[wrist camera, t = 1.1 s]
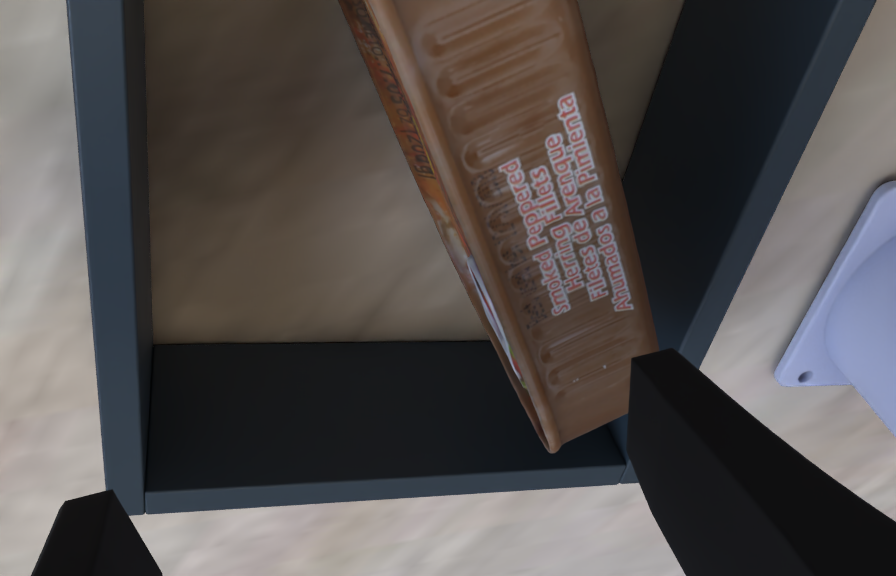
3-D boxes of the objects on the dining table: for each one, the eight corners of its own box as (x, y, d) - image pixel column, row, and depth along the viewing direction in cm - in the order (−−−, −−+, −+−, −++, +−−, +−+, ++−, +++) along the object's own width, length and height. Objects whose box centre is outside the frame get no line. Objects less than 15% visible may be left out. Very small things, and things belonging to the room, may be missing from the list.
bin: (892, -479, 15) (1121, -500, 11) (582, 358, 27) (645, 483, 23) (59, -748, 11) (-9, -913, 8) (122, 366, 23) (107, 518, 19)
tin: (195, -331, 14) (192, -268, 8) (369, -408, 14) (506, -405, 8) (462, 290, 24) (556, 541, 18) (566, 247, 24) (698, 485, 18)
